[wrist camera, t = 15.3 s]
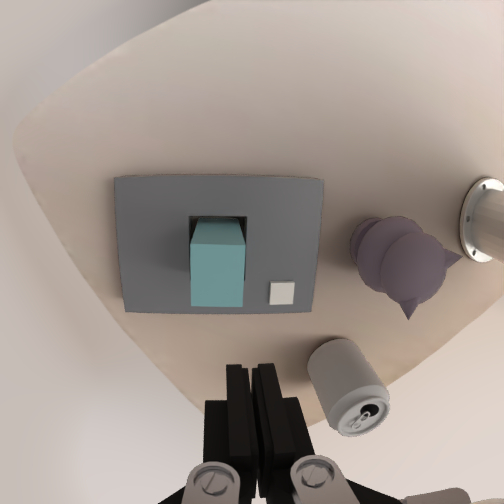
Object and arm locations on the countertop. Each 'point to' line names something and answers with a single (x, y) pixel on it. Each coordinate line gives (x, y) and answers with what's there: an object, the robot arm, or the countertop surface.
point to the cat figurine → (400, 260)
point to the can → (348, 388)
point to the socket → (218, 204)
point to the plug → (217, 263)
